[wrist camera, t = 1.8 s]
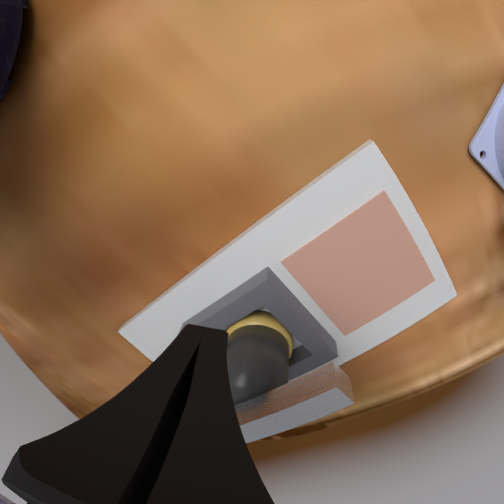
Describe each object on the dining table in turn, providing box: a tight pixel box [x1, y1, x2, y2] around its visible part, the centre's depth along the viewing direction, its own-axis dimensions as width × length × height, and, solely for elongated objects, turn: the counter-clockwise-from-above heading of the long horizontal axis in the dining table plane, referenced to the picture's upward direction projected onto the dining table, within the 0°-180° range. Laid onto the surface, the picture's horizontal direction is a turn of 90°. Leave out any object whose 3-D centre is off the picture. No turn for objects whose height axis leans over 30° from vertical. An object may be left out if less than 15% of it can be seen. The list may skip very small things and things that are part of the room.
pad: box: [281, 190, 435, 336], centre depth 18 cm, size 7×7×1 cm
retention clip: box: [234, 361, 354, 443], centre depth 18 cm, size 13×2×8 cm, turn 130°
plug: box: [226, 310, 292, 405], centre depth 18 cm, size 4×4×6 cm
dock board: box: [118, 139, 457, 383], centre depth 20 cm, size 22×12×2 cm, turn 130°
